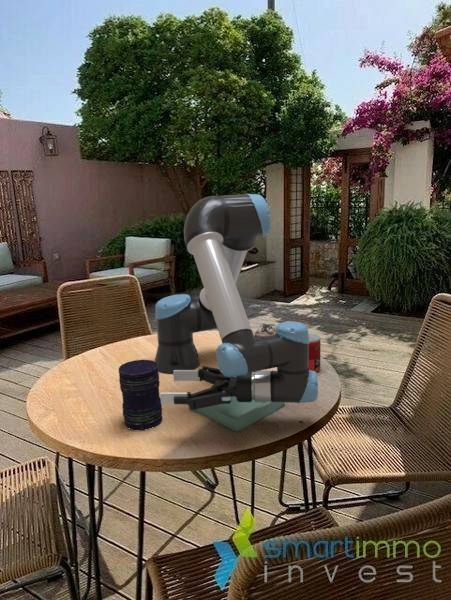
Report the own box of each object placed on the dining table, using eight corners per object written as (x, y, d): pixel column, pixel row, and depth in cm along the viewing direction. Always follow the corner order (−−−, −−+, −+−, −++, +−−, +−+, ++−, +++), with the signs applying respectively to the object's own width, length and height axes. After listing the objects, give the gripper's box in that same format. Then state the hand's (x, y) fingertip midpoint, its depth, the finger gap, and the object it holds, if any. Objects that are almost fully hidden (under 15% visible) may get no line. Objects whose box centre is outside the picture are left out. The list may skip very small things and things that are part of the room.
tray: (189, 409, 123) (188, 398, 123) (236, 387, 135) (236, 377, 135) (237, 431, 111) (236, 420, 110) (284, 405, 123) (284, 395, 122)
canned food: (320, 375, 141) (320, 341, 139) (294, 374, 143) (293, 340, 140) (320, 365, 149) (320, 333, 146) (295, 364, 150) (295, 332, 148)
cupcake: (254, 347, 169) (253, 321, 166) (280, 347, 167) (280, 321, 164) (250, 356, 160) (249, 329, 157) (278, 357, 158) (277, 329, 155)
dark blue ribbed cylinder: (141, 409, 125) (136, 357, 121) (170, 416, 120) (166, 362, 116) (115, 425, 116) (109, 370, 113) (145, 434, 111) (140, 377, 108)
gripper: (250, 426, 101) (156, 425, 103) (256, 379, 125) (179, 379, 127) (249, 394, 99) (153, 394, 102) (255, 353, 123) (177, 354, 126)
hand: (167, 386), depth 114 cm, fingers open, 13 cm apart
